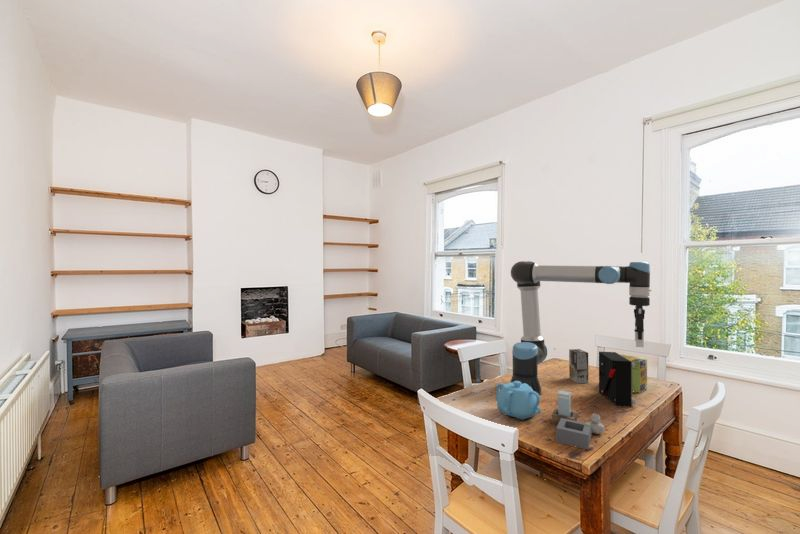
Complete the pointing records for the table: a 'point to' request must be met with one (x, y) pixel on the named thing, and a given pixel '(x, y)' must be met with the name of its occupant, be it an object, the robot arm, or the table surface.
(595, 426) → the rubber duck
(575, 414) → the holster
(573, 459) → the table surface
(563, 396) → the plug
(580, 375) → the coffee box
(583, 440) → the port
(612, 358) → the electrical component
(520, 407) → the decorative pot
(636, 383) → the protein box
